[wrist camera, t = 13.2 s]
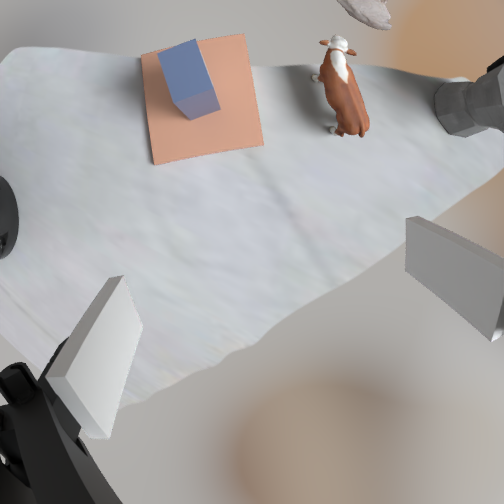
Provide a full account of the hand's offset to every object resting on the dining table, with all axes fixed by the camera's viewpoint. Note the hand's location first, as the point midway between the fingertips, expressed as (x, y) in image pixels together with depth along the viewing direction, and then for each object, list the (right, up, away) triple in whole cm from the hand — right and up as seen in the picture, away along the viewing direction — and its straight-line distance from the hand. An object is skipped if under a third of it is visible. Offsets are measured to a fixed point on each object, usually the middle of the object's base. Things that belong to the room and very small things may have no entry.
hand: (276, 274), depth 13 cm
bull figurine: (+9, +22, +23) cm, 33 cm away
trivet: (-8, +21, +22) cm, 31 cm away
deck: (-8, +21, +21) cm, 31 cm away
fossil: (+15, +39, +19) cm, 45 cm away
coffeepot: (+31, +24, +23) cm, 46 cm away
